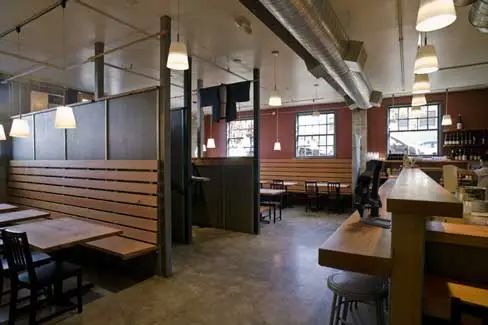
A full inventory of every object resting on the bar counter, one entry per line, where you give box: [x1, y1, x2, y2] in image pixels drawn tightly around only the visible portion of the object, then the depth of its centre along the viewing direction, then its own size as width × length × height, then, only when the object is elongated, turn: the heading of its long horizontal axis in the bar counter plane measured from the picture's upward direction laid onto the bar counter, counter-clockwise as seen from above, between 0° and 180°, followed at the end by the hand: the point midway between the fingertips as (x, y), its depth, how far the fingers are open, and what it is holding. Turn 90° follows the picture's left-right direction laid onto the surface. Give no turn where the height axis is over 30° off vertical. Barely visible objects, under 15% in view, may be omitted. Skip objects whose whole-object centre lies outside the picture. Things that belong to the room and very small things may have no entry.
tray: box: [364, 216, 392, 229], centre depth 197 cm, size 15×15×2 cm
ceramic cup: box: [359, 208, 369, 222], centre depth 207 cm, size 5×5×8 cm
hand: (363, 217), depth 207 cm, fingers closed on ceramic cup, 5 cm apart
